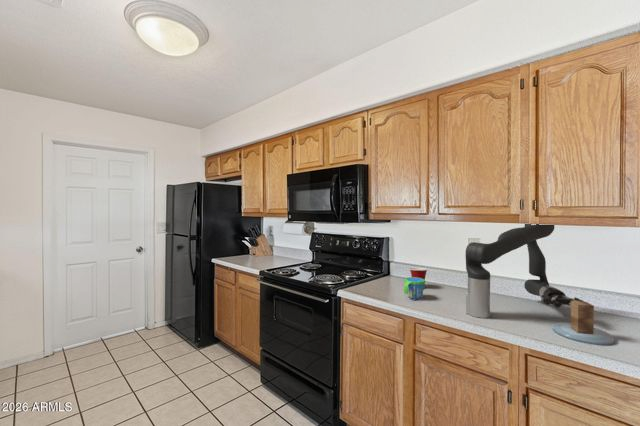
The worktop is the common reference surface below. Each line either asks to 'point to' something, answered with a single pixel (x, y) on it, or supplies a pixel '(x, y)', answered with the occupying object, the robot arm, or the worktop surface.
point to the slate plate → (583, 335)
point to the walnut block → (582, 317)
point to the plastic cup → (418, 272)
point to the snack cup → (414, 287)
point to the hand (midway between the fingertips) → (570, 306)
